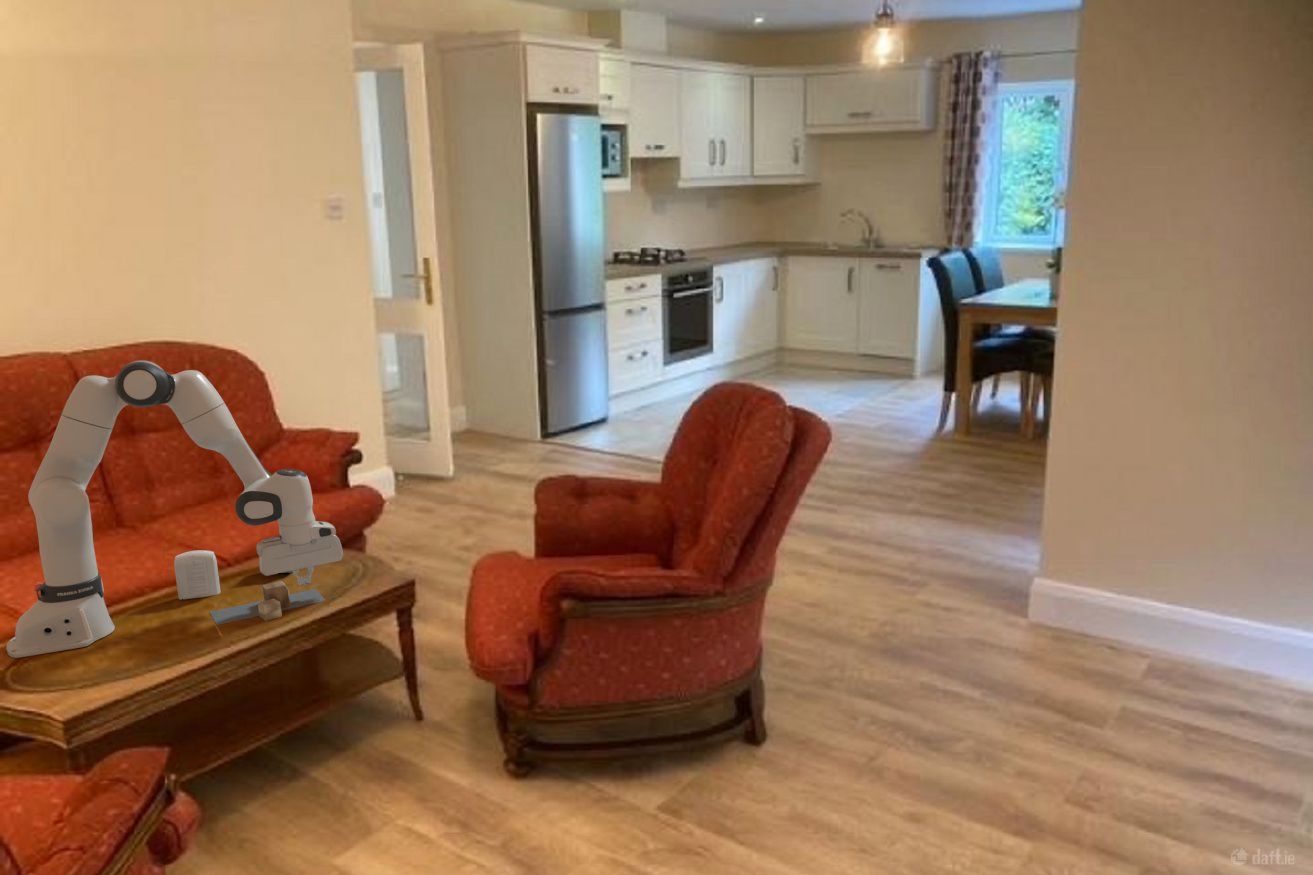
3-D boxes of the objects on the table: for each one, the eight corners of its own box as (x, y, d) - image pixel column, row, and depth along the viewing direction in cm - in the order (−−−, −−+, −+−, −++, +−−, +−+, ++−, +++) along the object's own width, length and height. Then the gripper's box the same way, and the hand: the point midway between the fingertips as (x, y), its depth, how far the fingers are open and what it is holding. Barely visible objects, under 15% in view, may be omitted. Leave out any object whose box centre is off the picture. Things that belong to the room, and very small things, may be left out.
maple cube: (266, 622, 249) (263, 606, 248) (259, 618, 252) (257, 602, 251) (282, 617, 251) (280, 602, 251) (275, 613, 254) (273, 598, 254)
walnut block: (291, 606, 258) (271, 610, 255) (284, 597, 265) (264, 601, 262) (289, 589, 257) (269, 593, 255) (281, 580, 264) (262, 585, 261)
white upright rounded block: (222, 590, 273) (215, 546, 271) (220, 595, 269) (213, 550, 267) (180, 596, 270) (173, 551, 268) (177, 601, 266) (170, 556, 264)
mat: (217, 626, 248) (216, 625, 248) (209, 613, 257) (209, 611, 257) (326, 601, 261) (325, 600, 261) (315, 589, 270) (315, 588, 270)
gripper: (257, 543, 252) (265, 596, 255) (341, 527, 263) (347, 578, 265) (252, 537, 257) (259, 589, 260) (334, 521, 268) (340, 572, 271)
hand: (304, 583), depth 263 cm, fingers closed
